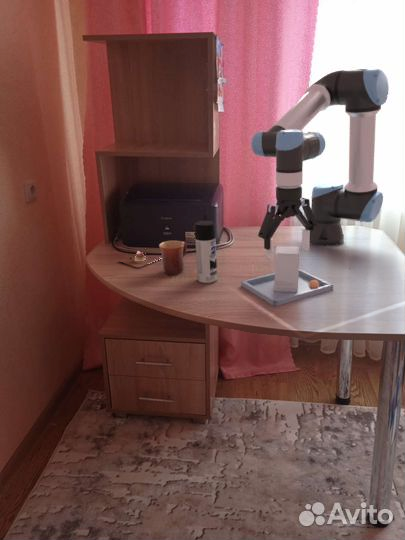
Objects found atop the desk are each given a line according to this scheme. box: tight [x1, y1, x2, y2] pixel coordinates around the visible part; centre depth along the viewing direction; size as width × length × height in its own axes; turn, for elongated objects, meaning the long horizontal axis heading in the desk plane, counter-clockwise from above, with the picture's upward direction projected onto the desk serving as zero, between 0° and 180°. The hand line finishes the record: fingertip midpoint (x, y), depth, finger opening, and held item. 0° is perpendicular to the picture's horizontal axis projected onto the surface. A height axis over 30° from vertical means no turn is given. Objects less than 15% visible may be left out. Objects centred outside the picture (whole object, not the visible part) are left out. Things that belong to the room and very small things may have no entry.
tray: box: [240, 268, 334, 307], centre depth 148 cm, size 22×18×2 cm
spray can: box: [194, 220, 218, 284], centre depth 155 cm, size 7×7×20 cm
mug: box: [158, 240, 188, 276], centre depth 166 cm, size 12×9×10 cm
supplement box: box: [274, 245, 300, 292], centre depth 146 cm, size 7×7×13 cm
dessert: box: [134, 250, 162, 265], centre depth 178 cm, size 12×12×5 cm
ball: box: [309, 280, 319, 289], centre depth 145 cm, size 3×3×3 cm
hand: (287, 254), depth 144 cm, fingers open, 13 cm apart
